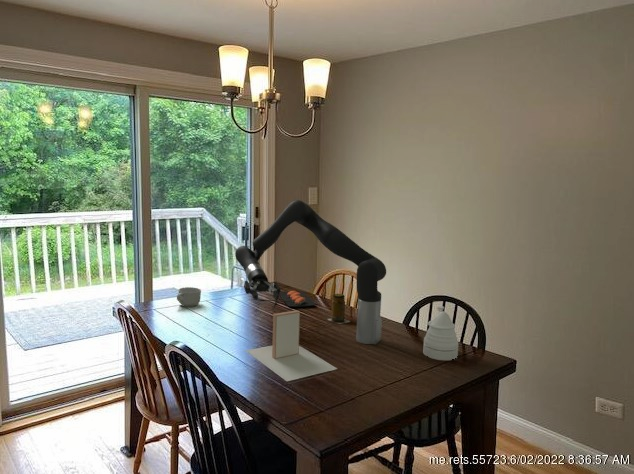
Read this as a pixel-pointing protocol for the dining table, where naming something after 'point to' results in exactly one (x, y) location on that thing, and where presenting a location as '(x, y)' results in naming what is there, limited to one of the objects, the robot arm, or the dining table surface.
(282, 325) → the tile
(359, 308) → the robot arm
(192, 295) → the teacup
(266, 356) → the mat
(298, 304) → the sushi plate
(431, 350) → the honey pot
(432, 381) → the dining table surface
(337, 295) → the condiment
